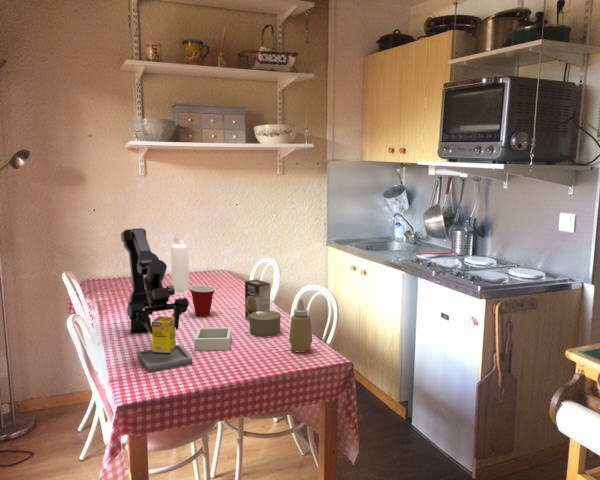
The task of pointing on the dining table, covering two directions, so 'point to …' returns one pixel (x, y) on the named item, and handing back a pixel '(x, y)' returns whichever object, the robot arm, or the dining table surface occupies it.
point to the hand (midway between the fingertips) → (164, 331)
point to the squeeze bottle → (300, 329)
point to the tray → (164, 359)
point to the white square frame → (213, 339)
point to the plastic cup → (202, 299)
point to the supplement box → (163, 335)
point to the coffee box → (256, 297)
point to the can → (264, 323)
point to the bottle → (180, 266)
